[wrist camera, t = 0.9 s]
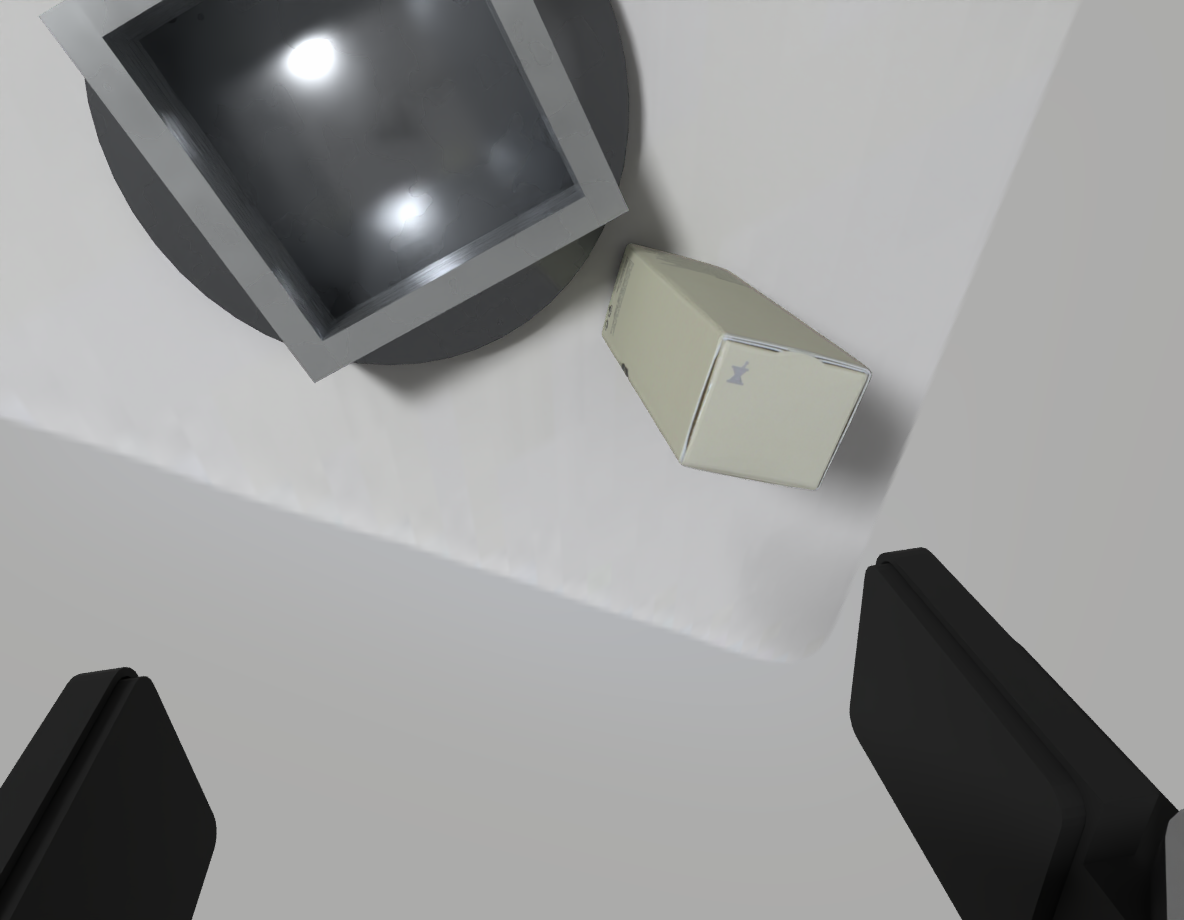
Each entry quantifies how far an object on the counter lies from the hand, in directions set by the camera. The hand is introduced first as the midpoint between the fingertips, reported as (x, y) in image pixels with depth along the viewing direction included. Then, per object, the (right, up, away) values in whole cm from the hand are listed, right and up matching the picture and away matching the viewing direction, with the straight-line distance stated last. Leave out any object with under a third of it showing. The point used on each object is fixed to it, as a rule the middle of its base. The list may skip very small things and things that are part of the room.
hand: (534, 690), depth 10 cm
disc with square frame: (-8, +17, +18) cm, 26 cm away
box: (+4, +10, +24) cm, 26 cm away
